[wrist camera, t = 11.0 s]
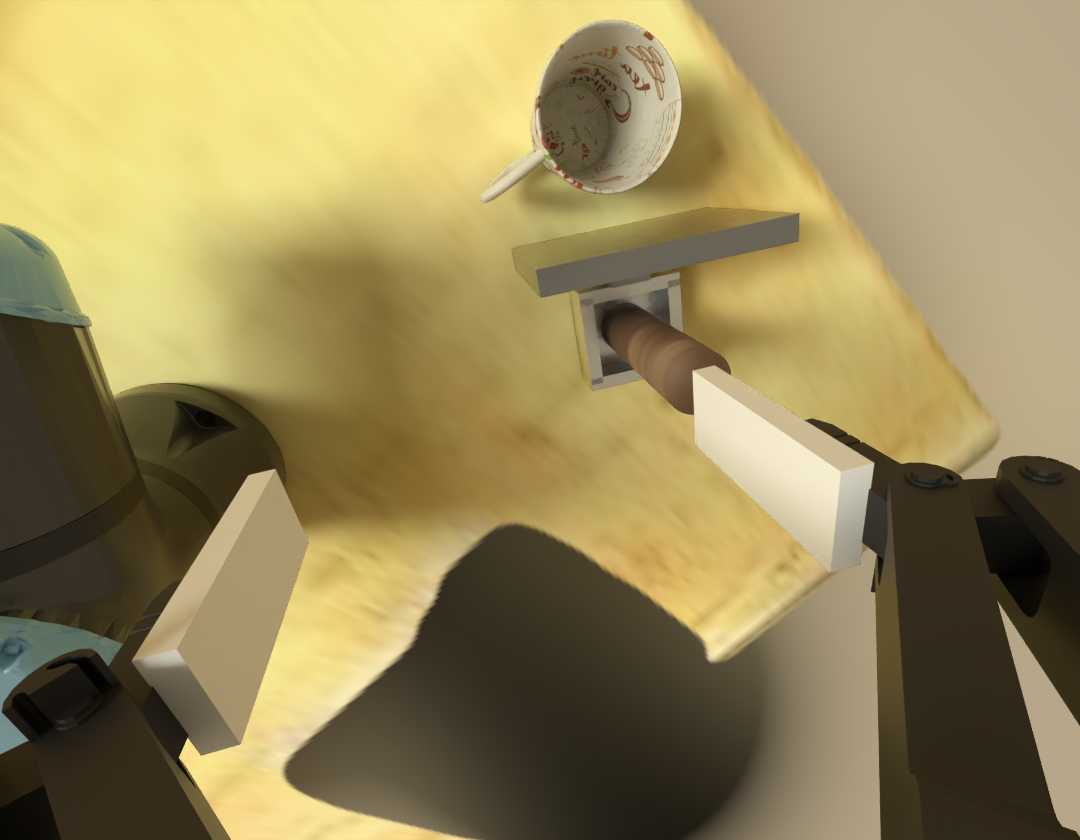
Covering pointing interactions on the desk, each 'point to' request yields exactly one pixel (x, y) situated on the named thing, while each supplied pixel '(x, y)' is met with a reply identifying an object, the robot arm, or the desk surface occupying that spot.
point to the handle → (659, 352)
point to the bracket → (640, 271)
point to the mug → (601, 111)
